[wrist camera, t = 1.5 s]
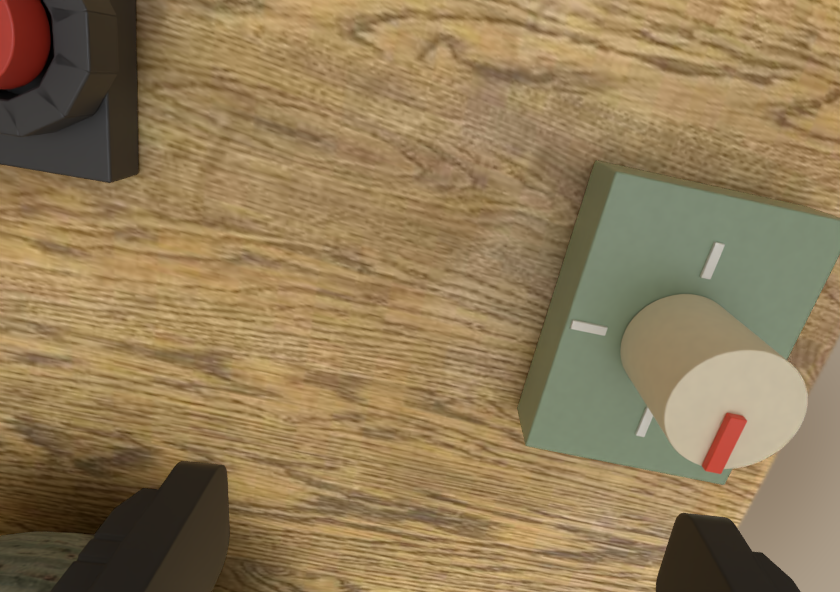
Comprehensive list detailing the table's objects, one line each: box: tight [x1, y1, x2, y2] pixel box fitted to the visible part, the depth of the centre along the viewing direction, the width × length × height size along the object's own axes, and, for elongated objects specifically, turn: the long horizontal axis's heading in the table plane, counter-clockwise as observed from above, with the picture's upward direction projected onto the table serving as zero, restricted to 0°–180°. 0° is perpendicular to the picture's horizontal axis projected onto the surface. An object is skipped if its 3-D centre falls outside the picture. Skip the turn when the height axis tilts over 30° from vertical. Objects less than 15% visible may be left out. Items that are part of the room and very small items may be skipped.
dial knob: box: [620, 294, 808, 474], centre depth 20 cm, size 4×4×5 cm
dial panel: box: [517, 161, 840, 485], centre depth 24 cm, size 12×9×3 cm
